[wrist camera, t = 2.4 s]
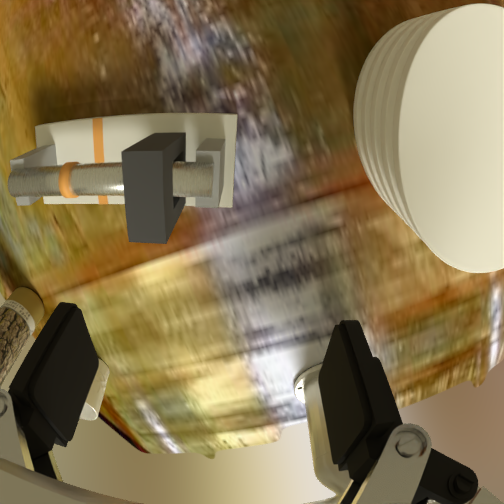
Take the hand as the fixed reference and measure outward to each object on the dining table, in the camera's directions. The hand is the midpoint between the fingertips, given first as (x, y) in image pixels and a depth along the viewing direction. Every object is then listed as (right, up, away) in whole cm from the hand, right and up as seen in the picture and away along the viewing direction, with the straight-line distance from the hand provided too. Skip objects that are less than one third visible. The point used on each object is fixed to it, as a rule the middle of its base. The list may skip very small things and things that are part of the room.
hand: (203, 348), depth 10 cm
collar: (-6, +11, +19) cm, 22 cm away
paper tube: (-36, -5, +33) cm, 49 cm away
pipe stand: (-12, +14, +22) cm, 29 cm away
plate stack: (+26, +19, +20) cm, 38 cm away
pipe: (-12, +10, +17) cm, 23 cm away
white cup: (-28, -18, +40) cm, 52 cm away
